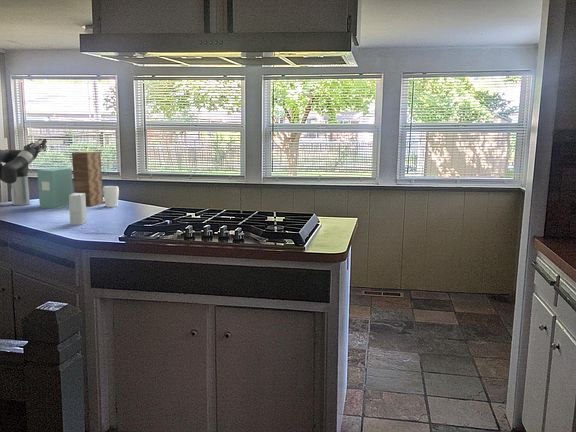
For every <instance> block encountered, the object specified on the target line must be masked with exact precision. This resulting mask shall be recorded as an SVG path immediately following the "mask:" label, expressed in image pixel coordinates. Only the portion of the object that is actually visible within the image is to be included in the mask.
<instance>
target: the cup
mask: <svg viewBox="0 0 576 432" xmlns="http://www.w3.org/2000/svg"><path fill="white" fill-rule="evenodd" d="M102 191H103V200H104V201H105V204H104V205H105V207H106V208H116V207H118V206H119V205H118V203H119V195H120V190H119V186H118V185H104V186H102Z"/></svg>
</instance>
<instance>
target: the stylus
mask: <svg viewBox="0 0 576 432" xmlns="http://www.w3.org/2000/svg"><path fill="white" fill-rule="evenodd" d="M42 141H43V140H42ZM42 141H38V140H35V141H34V143H35V144H36V145H37V144H39V143H41V142H42ZM46 141H47V143H46V146H54V145H57V146H58V145H64V144H66V141H65V140H64V139H60V140H59V139H58V140H57V139H56V140H55V139H54V140H53V139H52V140H46Z"/></svg>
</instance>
